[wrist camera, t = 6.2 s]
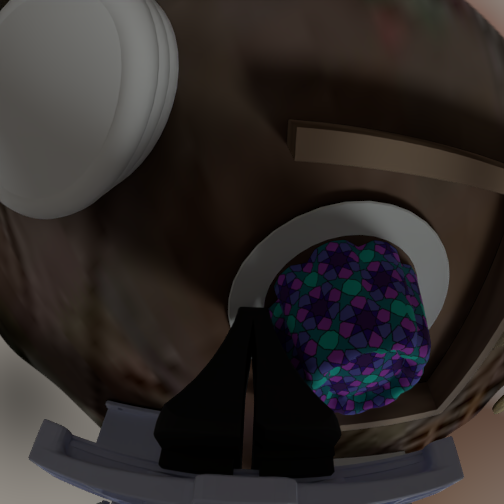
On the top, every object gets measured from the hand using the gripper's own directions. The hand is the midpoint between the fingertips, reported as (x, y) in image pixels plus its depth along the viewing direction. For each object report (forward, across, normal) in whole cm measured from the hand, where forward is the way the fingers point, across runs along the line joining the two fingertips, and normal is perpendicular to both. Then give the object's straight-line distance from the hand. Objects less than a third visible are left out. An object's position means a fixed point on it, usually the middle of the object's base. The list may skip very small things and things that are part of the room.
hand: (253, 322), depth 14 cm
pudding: (+2, -5, 0) cm, 5 cm away
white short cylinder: (+2, +8, -11) cm, 14 cm away
